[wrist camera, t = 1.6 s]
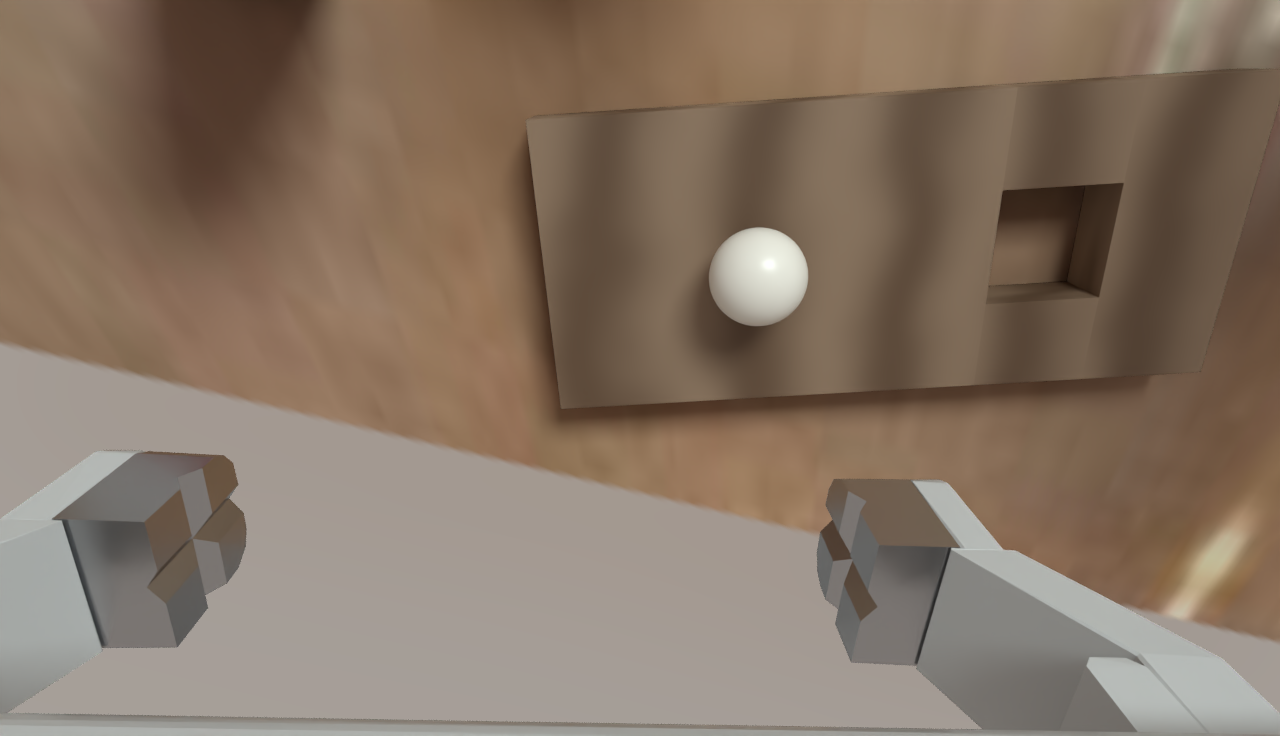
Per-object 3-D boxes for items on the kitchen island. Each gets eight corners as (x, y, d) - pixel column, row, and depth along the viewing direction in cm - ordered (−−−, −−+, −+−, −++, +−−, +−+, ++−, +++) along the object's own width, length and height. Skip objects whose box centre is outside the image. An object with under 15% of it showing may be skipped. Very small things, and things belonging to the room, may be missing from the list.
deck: (1238, 68, 29) (1289, 68, 27) (1162, 351, 34) (1200, 372, 32) (534, 115, 30) (525, 119, 27) (565, 386, 35) (560, 408, 33)
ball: (797, 215, 29) (821, 236, 25) (795, 305, 31) (816, 337, 27) (703, 221, 29) (712, 243, 25) (705, 310, 31) (715, 343, 27)
